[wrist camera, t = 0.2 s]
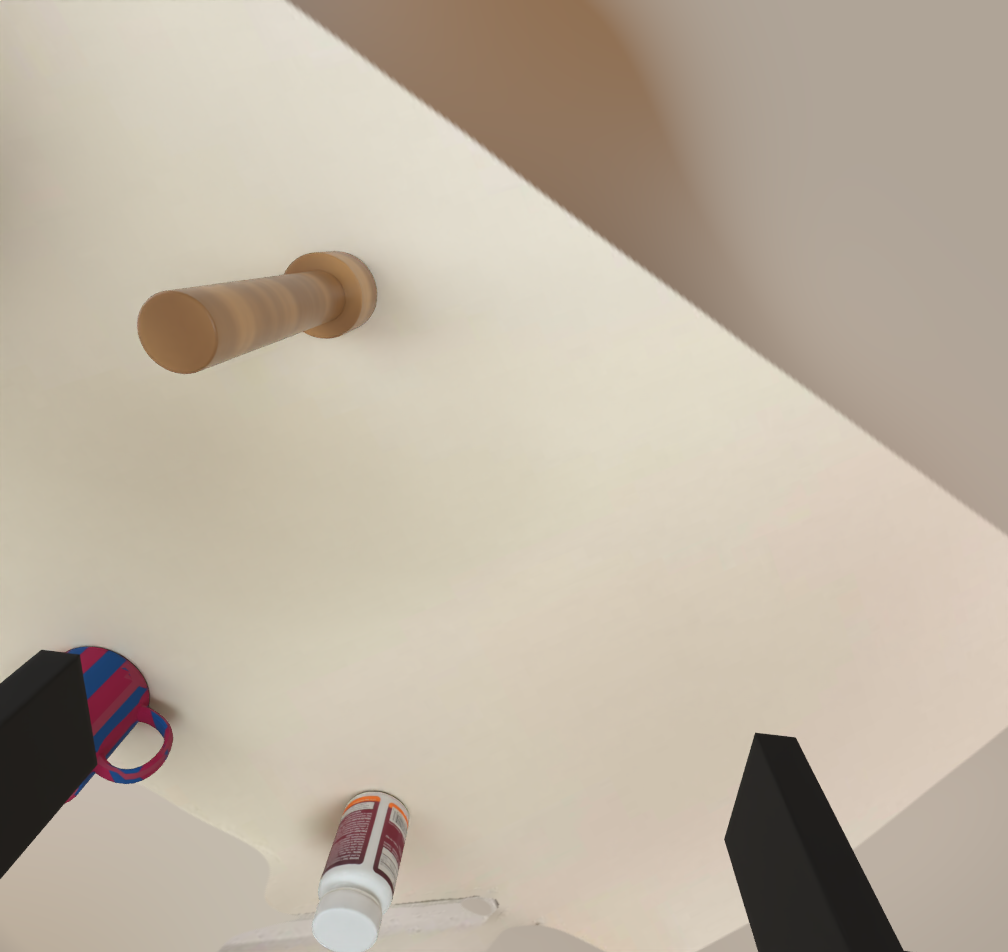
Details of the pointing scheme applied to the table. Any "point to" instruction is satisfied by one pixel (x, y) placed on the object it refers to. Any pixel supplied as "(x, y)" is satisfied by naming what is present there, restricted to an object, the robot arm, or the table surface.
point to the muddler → (256, 312)
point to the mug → (118, 712)
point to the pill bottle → (360, 873)
